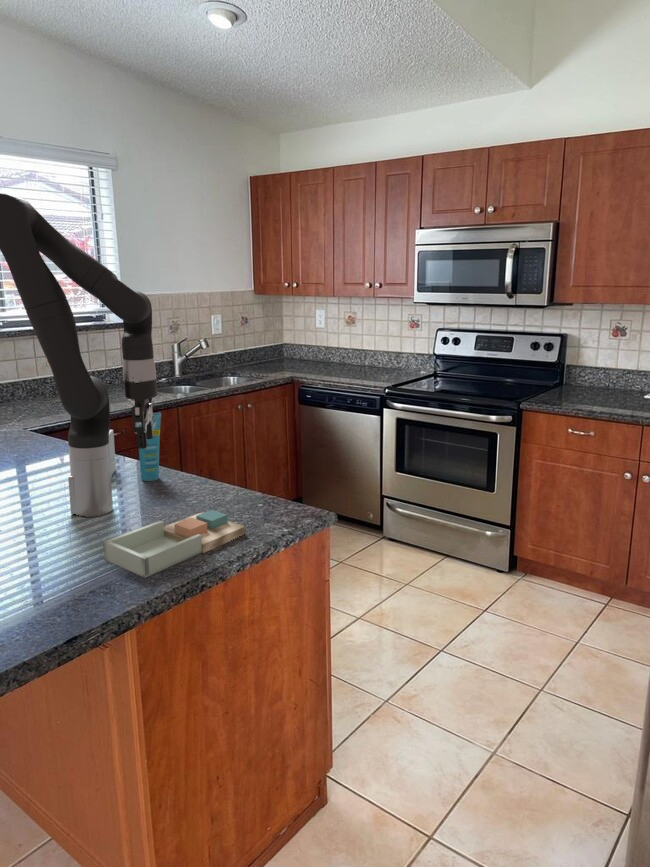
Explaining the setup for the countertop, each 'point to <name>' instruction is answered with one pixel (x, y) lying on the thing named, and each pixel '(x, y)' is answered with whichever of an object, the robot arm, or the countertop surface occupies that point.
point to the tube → (151, 452)
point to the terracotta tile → (190, 527)
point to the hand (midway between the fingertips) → (145, 443)
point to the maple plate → (209, 534)
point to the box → (149, 550)
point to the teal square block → (213, 518)
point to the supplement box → (112, 452)
